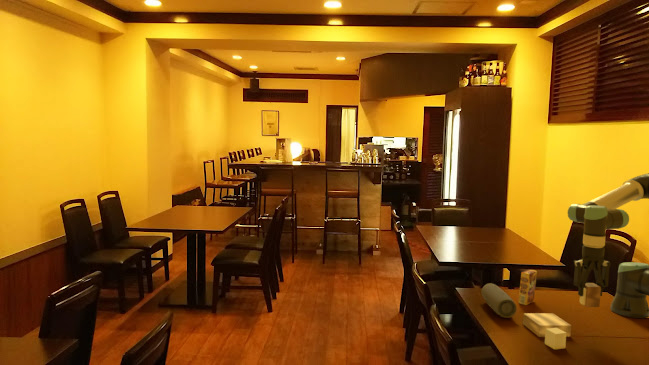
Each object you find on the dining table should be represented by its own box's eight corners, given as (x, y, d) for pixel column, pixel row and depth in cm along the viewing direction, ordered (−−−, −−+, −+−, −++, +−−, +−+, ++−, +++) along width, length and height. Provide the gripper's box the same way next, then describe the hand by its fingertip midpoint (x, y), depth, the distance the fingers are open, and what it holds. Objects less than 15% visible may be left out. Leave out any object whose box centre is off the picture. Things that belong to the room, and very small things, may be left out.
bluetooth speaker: (517, 321, 206) (518, 298, 205) (495, 320, 206) (496, 297, 205) (499, 302, 229) (500, 282, 228) (479, 302, 229) (480, 281, 228)
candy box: (527, 305, 226) (529, 274, 224) (518, 303, 229) (520, 272, 227) (534, 301, 232) (537, 270, 230) (525, 299, 235) (528, 268, 233)
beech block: (552, 324, 204) (553, 313, 204) (570, 337, 191) (571, 325, 191) (522, 324, 203) (523, 313, 203) (538, 337, 190) (539, 325, 190)
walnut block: (591, 302, 191) (593, 282, 190) (599, 307, 186) (600, 286, 185) (579, 302, 191) (580, 282, 190) (586, 307, 186) (588, 286, 185)
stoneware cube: (555, 342, 185) (556, 327, 185) (565, 348, 180) (566, 332, 180) (544, 343, 184) (545, 328, 183) (554, 349, 179) (555, 334, 178)
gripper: (610, 243, 190) (606, 300, 192) (565, 243, 189) (561, 300, 192) (622, 248, 183) (618, 307, 185) (575, 247, 182) (571, 307, 184)
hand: (589, 303), depth 188 cm, fingers closed on walnut block, 5 cm apart
